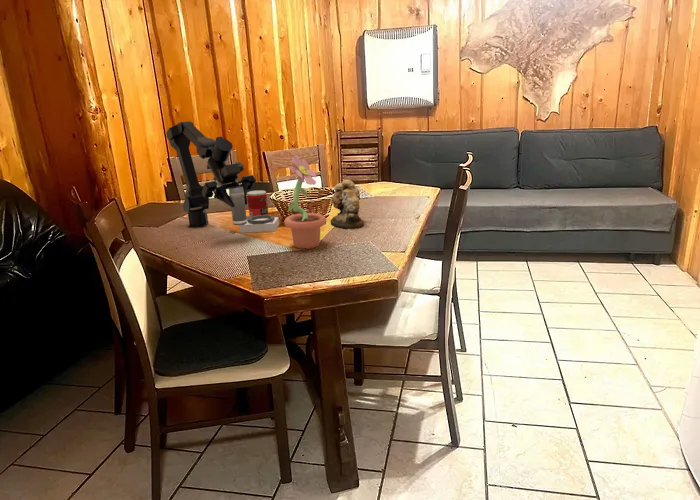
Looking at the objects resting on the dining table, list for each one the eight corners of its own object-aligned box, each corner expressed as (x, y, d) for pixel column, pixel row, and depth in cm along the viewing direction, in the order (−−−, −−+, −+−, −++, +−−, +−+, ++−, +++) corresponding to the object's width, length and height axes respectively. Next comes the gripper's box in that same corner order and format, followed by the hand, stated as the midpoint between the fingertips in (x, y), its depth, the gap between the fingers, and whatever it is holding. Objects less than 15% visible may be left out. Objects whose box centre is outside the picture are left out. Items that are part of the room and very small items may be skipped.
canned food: (265, 220, 203) (262, 193, 200) (246, 220, 205) (243, 194, 201) (271, 216, 210) (269, 190, 207) (253, 216, 212) (250, 190, 209)
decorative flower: (316, 254, 157) (309, 158, 148) (277, 251, 162) (268, 158, 153) (334, 240, 170) (328, 152, 161) (297, 238, 175) (290, 152, 166)
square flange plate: (240, 232, 187) (238, 221, 185) (246, 225, 196) (245, 215, 195) (274, 231, 186) (273, 220, 185) (279, 224, 195) (278, 214, 194)
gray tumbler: (231, 225, 172) (226, 189, 168) (234, 221, 177) (230, 186, 173) (245, 224, 172) (241, 188, 168) (248, 221, 176) (244, 186, 172)
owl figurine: (323, 221, 198) (320, 178, 193) (349, 217, 202) (347, 175, 197) (342, 231, 182) (340, 184, 177) (371, 226, 187) (369, 180, 182)
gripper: (200, 158, 164) (221, 195, 159) (250, 151, 176) (270, 186, 171) (193, 179, 172) (212, 215, 167) (241, 172, 184) (260, 205, 179)
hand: (239, 205), depth 171 cm, fingers closed on gray tumbler, 5 cm apart
